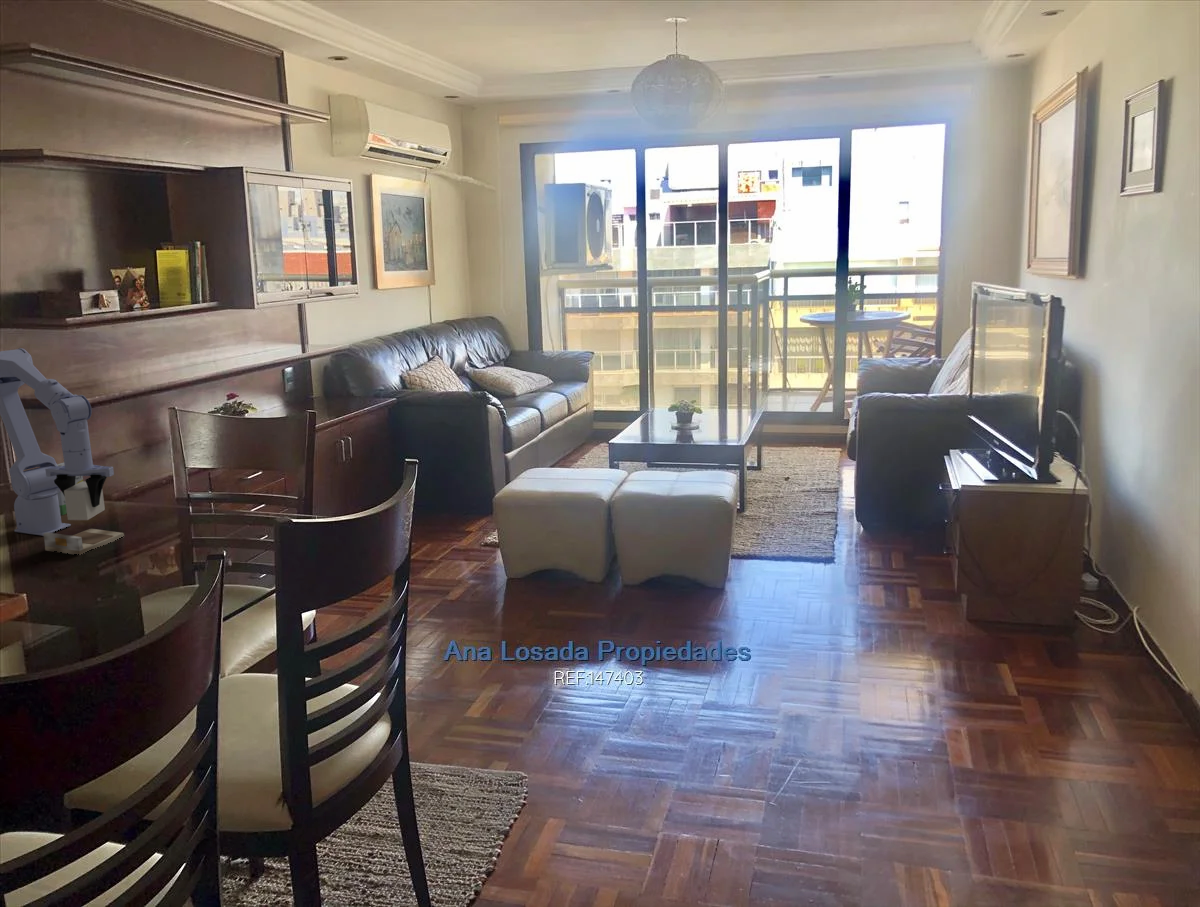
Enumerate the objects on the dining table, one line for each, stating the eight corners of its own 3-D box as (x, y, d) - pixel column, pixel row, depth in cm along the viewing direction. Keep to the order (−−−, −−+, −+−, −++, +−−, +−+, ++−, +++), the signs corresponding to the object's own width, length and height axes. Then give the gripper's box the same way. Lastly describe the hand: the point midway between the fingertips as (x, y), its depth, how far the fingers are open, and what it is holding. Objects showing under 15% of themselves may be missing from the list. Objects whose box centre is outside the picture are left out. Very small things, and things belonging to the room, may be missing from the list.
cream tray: (45, 550, 215) (42, 533, 214) (91, 532, 227) (88, 516, 226) (79, 555, 212) (77, 538, 211) (124, 536, 224) (122, 521, 223)
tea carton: (67, 520, 216) (63, 490, 214) (84, 509, 223) (81, 481, 222) (87, 520, 216) (83, 490, 214) (104, 509, 223) (101, 481, 222)
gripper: (117, 445, 219) (124, 500, 223) (54, 444, 219) (62, 500, 222) (102, 452, 212) (109, 509, 216) (37, 452, 212) (45, 509, 216)
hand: (84, 505), depth 219 cm, fingers closed on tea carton, 5 cm apart
